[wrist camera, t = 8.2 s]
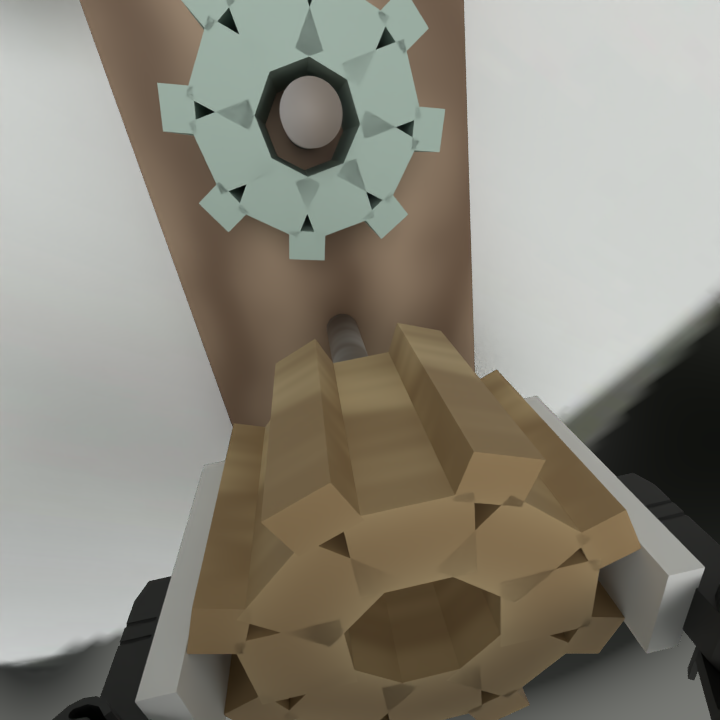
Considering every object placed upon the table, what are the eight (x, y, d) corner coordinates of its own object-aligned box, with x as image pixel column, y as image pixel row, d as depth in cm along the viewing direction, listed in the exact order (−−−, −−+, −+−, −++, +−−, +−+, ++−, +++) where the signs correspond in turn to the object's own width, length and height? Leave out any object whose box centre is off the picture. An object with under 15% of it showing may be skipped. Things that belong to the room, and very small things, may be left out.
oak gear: (192, 362, 12) (111, 529, 7) (513, 300, 13) (673, 408, 7) (273, 577, 16) (263, 781, 11) (509, 524, 17) (608, 695, 12)
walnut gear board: (247, 442, 30) (225, 582, 20) (82, -37, 18) (-169, -258, 8) (465, 396, 31) (544, 511, 21) (444, -89, 19) (605, -345, 9)
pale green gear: (254, 257, 22) (242, 291, 17) (157, 46, 18) (100, 3, 13) (424, 193, 22) (465, 207, 17) (368, -37, 18) (399, -116, 12)
